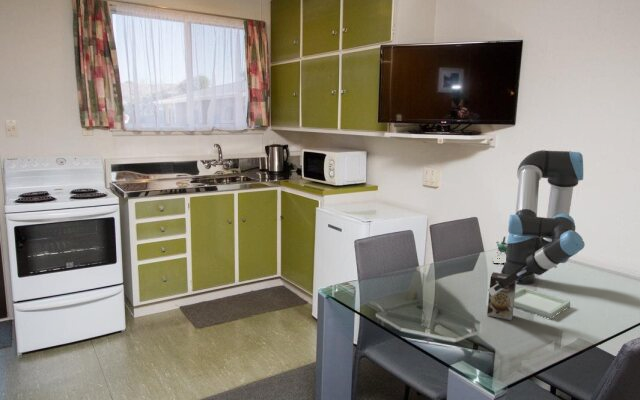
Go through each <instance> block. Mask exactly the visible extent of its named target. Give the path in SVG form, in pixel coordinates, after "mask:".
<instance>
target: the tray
mask: <svg viewBox="0 0 640 400" xmlns="http://www.w3.org/2000/svg"><path fill="white" fill-rule="evenodd" d="M568 307H570V308H571V301H569V300H567V299H563V298H561V297H560V298H559V297H556V296H554V295H550V294H547V293H543V292H540V291H537V290H533V289H531V288H528V287H520V288H518V289H515V297H514V307H513V308H515V309H518V310H521V311H524V312H526V311H527V313H529V312H530V314H532V313H534V314H533V315H535V314H537V315H536V316H538V315H540V316H539V317H541V316H543V317H542V318H544V317H546V318H545V319H547V318H549V319H548V320H551V318H552V317H553V316H555V315H556V314H557V313H559V312H561V311H563V310H564V309H566V308H568ZM568 309H569V308H568ZM566 310H567V309H566ZM563 312H564V311H563ZM561 313H562V312H561ZM555 317H556V316H555ZM553 318H554V317H553ZM553 318H552V319H553Z"/></svg>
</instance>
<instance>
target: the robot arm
mask: <svg viewBox="0 0 640 400" xmlns="http://www.w3.org/2000/svg"><path fill="white" fill-rule="evenodd" d="M516 177H517V179H518V186H517V195H516V197H517V198H516V205H515V214H511V215H509V219H508V227H507V231H508V232H507V233H509V234H508V237H507V241H506V242H507V244H508V245H507V254H506V262H505V263H504V264H503V267H502V268H501V271H500V273H501V274H506V275H510V276H508V277H507V278H505V279H504V280H502V281H500V280H499V281H498V284H496V285H494V286H493V287H491V288H490V287H489V289H487V291H488V294H489V293H490V294H491V296H493V295H495V294H496V293H498V292H499V291H501V290H503V289H504V288H505V287H506V286H508V285H510V284H512V283H513V282H515V281H516V284H517V285H518V284H519V285H529V284H533V283H535V282H536V281H535V280H536V275H537V276H542V275H543V274H545V273H546V272H548V271H549V270H551V269H553V268H554V269H556V268H558V266H557V265H559V264H566V263H567V262H568V261H569V259H570V258H571V257H573V256H575V255H577V254H578V253H579V252H581V251H582V250H583V249H584V247H585V241H584V239H583V237H582V236H581V235H580V234H579V232H577V231H576V223H575V220H574V218H573V217H572V216H571V215H570V213H571V212H570V211H571V206H572V199H573V198H572V197H573V193H574V192H573V191H574V188H575V187H577V186H578V185H579V181H583V180H584V157H583V154H582V153H581V152H579V151H571V150H569V151H567V150H545V149H543V150H537V151H534V152H531V153H530V154H528V155H527V156H526V157H524V158H523V159H522V160H521V162H520V163H519V165H518V167H517V173H516ZM541 179H547V183H548V184H549V185H550V190H549V197H548V205H547V206H548V207H547V213H546V217H544V216H543V217H541V216H538V205H539V204H538V202H539V186H540V180H541ZM534 281H535V282H534Z"/></svg>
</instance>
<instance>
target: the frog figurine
mask: <svg viewBox="0 0 640 400" xmlns="http://www.w3.org/2000/svg"><path fill="white" fill-rule="evenodd" d="M495 243H496V244H497V252H496V254H497V256H500V255H502V253H504V255H505V254H507V245H508V243H506V236H503V239H502V241H501V242H499V241H496V242H495ZM499 254H500V255H499ZM497 259H498V258H497ZM499 259H500V258H499Z"/></svg>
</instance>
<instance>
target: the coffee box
mask: <svg viewBox="0 0 640 400" xmlns="http://www.w3.org/2000/svg"><path fill="white" fill-rule="evenodd" d="M508 276H510V275H506V274H501V272H500V273H499V272H495V271H493V272H491V275H490V280H489V281H490V282H489V289H490V288H491V287H493V286H494V285H496V284H498V281H499V280H500V281H502V280H504V279H505V278H507V277H508ZM516 285H517V283H516V281H515V282H513V283H512V284H510V285H508V286H506V287H505V288H504V289H503V290H501V291H499V292H498V293H496V294H495V295H493V296H491V294H490V293H489V292H488V301H487V310H486V311H487V312H486V316H489V317H493V318H498V319H503V320H508V321H512V319H513V315H514V308H515V307H514V297H515V291H516V288H517V286H516Z"/></svg>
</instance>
